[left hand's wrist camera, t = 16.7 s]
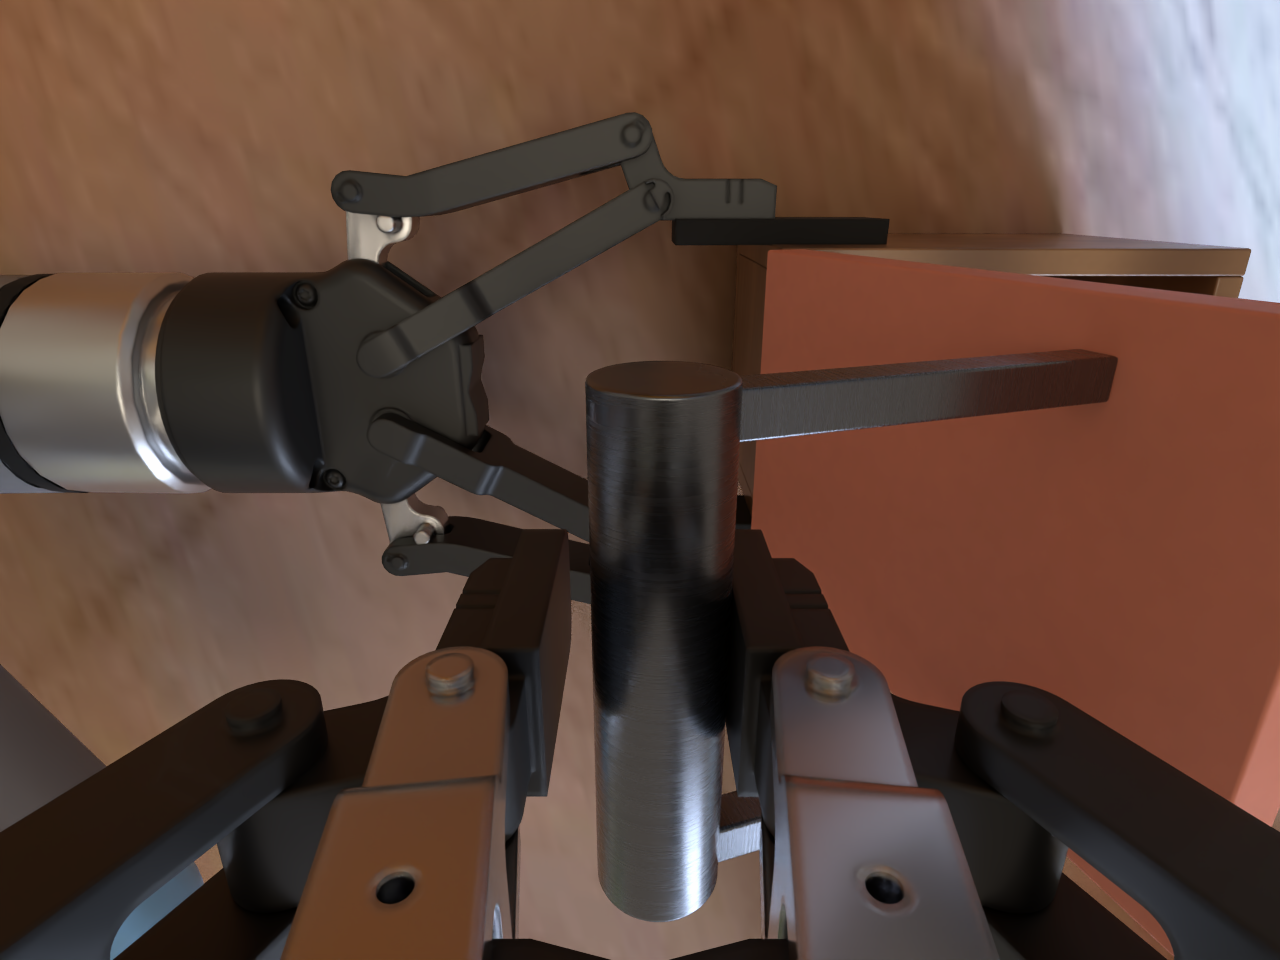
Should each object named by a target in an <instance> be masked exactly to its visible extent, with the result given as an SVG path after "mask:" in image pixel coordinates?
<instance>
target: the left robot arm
mask: <svg viewBox="0 0 1280 960" xmlns="http://www.w3.org/2000/svg"><path fill="white" fill-rule="evenodd" d="M570 644H571V590H570V564H569V541H568V532H567V529H523V530H522V532H521V535H520V538H519V540H518V543H517V546H516V549H515V552H514V554H513V557H512V558H489V559H488V560H487V561H485V562H484V563H483V564H482V565H480V566H479V567H478V568H476V569H475V570H474V571H472V572H471V573H470V575H469V578H468V580H467V582H466V584H465V587H464V589H463V594H461V595H460V598H459V600H458V602H457V604H456V609H454V611H453V613H452V615H451V617H450V620H449V622H448V624H447V626H446V628H445V631H444V633H443V635H442V637H441V639H440V642H439V644H438V646H437V648H436V650H435V651H432V652H429V653H426V654H424V655H422V656H419V657H418V658H416V659H414V660H412V661H411V662H409V663H408V664H407V665H405V666H404V667H403V668H402V669H401V670H400V671H399V672H398V674H397V675H396V677H395V679H394V681H393V683H392V687H391V690H390V694H389V696H386V697H383V698H381V699H378V700H374V701H370V702H366V703H362V704H357V705H352V706H347V707H342V708H337V709H332V710H328V711H323V707H322V701H321V697H320V694H319V693H318V691H317V690H316V689H315V688H314V687H313V686H311V685H309V684H307V683H304V682H301V681H296V680H269V681H263V682H258V683H254V684H251V685H247V686H244V687H241V688H238V689H236V690H234V691H231V692H229V693H227V694H225V695H223V696H221V697H219V698H218V699H216V700H214V701H213V702H211V703H209V704H208V705H206V706H204V707H203V708H201V709H200V710H198V711H196V712H195V713H193V714H191V715H190V716H188V717H187V718H185V719H183V720H182V721H180V722H178V723H177V724H175V725H174V726H172V727H170V728H169V729H167V730H165V731H164V732H162V733H161V734H159V735H157V736H156V737H154V738H152V739H151V740H149V741H148V742H146V743H144V744H143V745H141V746H139V747H138V748H136V749H135V750H133V751H131V752H130V753H128V754H126V755H125V756H123V757H122V758H120V759H118V760H117V761H115V762H114V763H112V764H110V765H109V766H107V767H105V768H104V769H102V770H101V771H99V772H97V773H96V774H94V775H92V776H91V777H89V778H88V779H86V780H84V781H83V782H81V783H79V784H78V785H76V786H75V787H73V788H71V789H70V790H68V791H66V792H65V793H63V794H62V795H60V796H58V797H57V798H55V799H53V800H52V801H50V802H49V803H47V804H45V805H44V806H42V807H40V808H39V809H37V810H36V811H34V812H32V813H31V814H29V815H27V816H26V817H24V818H23V819H21V820H19V821H18V822H16V823H14V824H13V825H11V826H10V827H8V828H6V829H5V830H3V831H1V832H0V960H110V952H111V947H112V944H113V941H114V938H115V936H116V934H117V932H118V930H119V929H120V927H121V926H122V924H123V922H124V921H125V920H126V919H127V917H128V916H129V915H130V914H131V913H132V912H133V911H134V910H135V908H137V907H138V906H139V905H140V904H141V903H142V902H143V901H145V900H146V899H147V898H148V897H150V896H151V895H152V894H154V893H155V892H156V891H157V890H159V889H160V888H161V887H162V886H164V885H165V884H166V883H167V882H169V881H170V880H171V879H172V878H174V877H175V876H176V875H177V874H179V873H180V872H181V871H183V870H184V869H185V868H186V867H188V866H189V865H190V864H191V863H193V862H194V861H195V860H196V859H198V858H199V857H200V856H201V855H203V854H204V853H205V852H206V851H208V850H209V849H210V848H211V847H213V846H214V845H215V844H217V846H218V850H219V853H220V857H221V861H222V864H223V869H221V870H220V871H219V872H218V873H217V874H215V875H214V876H213V877H212V878H210V879H209V880H208V881H207V882H206V883H204V884H203V885H202V886H201V887H200V888H198V889H197V890H196V891H195V892H194V893H192V894H191V895H190V896H189V897H188V898H186V899H185V900H184V901H183V902H182V903H180V904H179V905H178V906H177V907H176V908H174V909H173V910H172V911H171V912H170V913H168V914H167V915H166V916H165V917H164V918H162V919H161V920H160V921H159V922H158V923H156V924H155V925H154V926H153V927H152V928H150V929H149V930H148V931H147V932H145V933H144V934H143V935H142V936H141V937H139V938H138V939H137V940H136V941H135V942H133V943H132V944H131V945H130V946H129V947H127V948H126V949H125V950H124V951H123V952H121V953H120V954H119V955H118V956H117V957H115V958H114V959H113V960H609V959H606V958H602V957H598V956H594V955H590V954H587V953H583V952H579V951H575V950H571V949H567V948H564V947H560V946H556V945H552V944H548V943H544V942H541V941H537V940H533V939H518V934H519V893H520V851H521V840H520V827H519V825H520V823H521V820H522V816H523V812H524V807H525V801H526V796H547V794H548V787H549V781H550V774H551V768H552V761H553V755H554V749H555V742H556V736H557V729H558V723H559V717H560V710H561V704H562V697H563V691H564V684H565V678H566V672H567V665H568V659H569V652H570ZM725 722H726V728H727V734H728V741H729V747H730V753H731V759H732V765H733V771H734V777H735V783H736V789H737V796H738V797H759V801H760V806H761V811H762V814H761V827H760V840H759V851H760V892H761V934H762V939H747V940H743V941H739V942H736V943H732V944H728V945H724V946H720V947H716V948H713V949H709V950H705V951H701V952H697V953H693V954H690V955H686V956H682V957H678V958H674V959H671V960H1167V959H1166V958H1165V957H1163V956H1162V955H1161V954H1160V953H1159V952H1157V951H1156V950H1155V949H1154V948H1153V947H1151V946H1150V945H1149V944H1148V943H1147V942H1145V941H1144V940H1143V939H1142V938H1141V937H1139V936H1138V935H1137V934H1136V933H1135V932H1133V931H1132V930H1131V929H1130V928H1129V927H1127V926H1126V925H1125V924H1124V923H1123V922H1121V921H1120V920H1119V919H1118V918H1116V917H1115V916H1114V915H1113V914H1112V913H1110V912H1109V911H1108V910H1107V909H1106V908H1104V907H1103V906H1102V905H1101V904H1100V903H1098V902H1097V901H1096V900H1095V899H1094V898H1092V897H1091V896H1090V895H1089V894H1088V893H1086V892H1085V891H1084V890H1083V889H1082V888H1080V887H1079V886H1078V885H1077V884H1076V883H1074V882H1073V881H1072V880H1071V879H1070V878H1068V877H1067V876H1066V875H1065V874H1064V873H1062V870H1063V866H1064V862H1065V859H1066V855H1067V852H1068V848H1070V849H1071V850H1072V851H1074V852H1075V853H1076V854H1077V855H1079V856H1080V857H1081V858H1082V859H1084V860H1085V861H1086V862H1087V863H1089V864H1090V865H1091V866H1092V867H1094V868H1095V869H1096V870H1098V871H1099V872H1100V873H1101V874H1103V875H1104V876H1105V877H1106V878H1108V879H1109V880H1110V881H1111V882H1113V883H1114V884H1115V885H1116V886H1118V887H1119V888H1120V889H1121V890H1123V891H1124V892H1125V893H1126V894H1128V895H1129V896H1130V897H1132V898H1133V899H1134V900H1135V901H1137V902H1138V903H1139V904H1140V905H1142V906H1143V907H1144V908H1145V909H1146V910H1147V911H1148V912H1149V913H1150V914H1151V915H1152V916H1153V917H1154V918H1155V919H1156V920H1157V922H1158V923H1159V924H1160V925H1161V927H1162V928H1163V930H1164V931H1165V933H1166V935H1167V937H1168V939H1169V941H1170V943H1171V946H1172V949H1173V953H1174V960H1280V832H1279V831H1277V830H1275V829H1274V828H1272V827H1270V826H1269V825H1267V824H1266V823H1264V822H1262V821H1261V820H1259V819H1257V818H1256V817H1254V816H1253V815H1251V814H1249V813H1248V812H1246V811H1244V810H1243V809H1241V808H1240V807H1238V806H1236V805H1235V804H1233V803H1231V802H1230V801H1228V800H1227V799H1225V798H1223V797H1222V796H1220V795H1219V794H1217V793H1215V792H1214V791H1212V790H1210V789H1209V788H1207V787H1206V786H1204V785H1202V784H1201V783H1199V782H1197V781H1196V780H1194V779H1193V778H1191V777H1189V776H1188V775H1186V774H1184V773H1183V772H1181V771H1180V770H1178V769H1176V768H1175V767H1173V766H1171V765H1170V764H1168V763H1167V762H1165V761H1163V760H1162V759H1160V758H1158V757H1157V756H1155V755H1154V754H1152V753H1150V752H1149V751H1147V750H1145V749H1144V748H1142V747H1141V746H1139V745H1137V744H1136V743H1134V742H1132V741H1131V740H1129V739H1128V738H1126V737H1124V736H1123V735H1121V734H1119V733H1118V732H1116V731H1115V730H1113V729H1111V728H1110V727H1108V726H1106V725H1105V724H1103V723H1102V722H1100V721H1098V720H1097V719H1095V718H1093V717H1092V716H1090V715H1089V714H1087V713H1085V712H1084V711H1082V710H1080V709H1079V708H1077V707H1076V706H1074V705H1072V704H1071V703H1069V702H1067V701H1066V700H1064V699H1062V698H1060V697H1058V696H1057V695H1054V694H1052V693H1050V692H1048V691H1045V690H1042V689H1039V688H1037V687H1033V686H1029V685H1026V684H1021V683H1015V682H1006V681H992V682H985V683H981V684H978V685H975V686H973V687H971V688H970V689H969V690H967V691H966V692H965V694H964V695H963V697H962V702H961V707H960V711H956V710H951V709H946V708H941V707H937V706H932V705H927V704H922V703H918V702H914V701H910V700H907V699H904V698H901V697H898V696H896V695H893V694H891V693H890V690H889V687H888V683H887V681H886V679H885V677H884V675H883V674H882V672H881V671H880V670H879V669H878V668H877V667H876V666H875V665H873V664H872V663H871V662H869V661H868V660H866V659H864V658H862V657H861V656H858V655H856V654H854V653H851V652H850V651H849V649H848V647H847V644H846V642H845V640H844V638H843V636H842V634H841V632H840V629H839V627H838V625H837V623H836V621H835V619H834V616H833V614H832V612H831V610H830V609H828V604H827V601H826V599H825V597H824V595H823V594H822V593H821V588H820V586H819V584H818V582H817V580H816V578H815V576H814V573H813V572H811V571H810V570H809V569H807V568H806V567H805V566H803V565H802V564H801V563H799V562H798V561H797V560H796V559H794V558H772V557H771V554H770V552H769V549H768V546H767V543H766V541H765V538H764V535H763V533H762V530H761V529H735V543H734V562H733V581H732V601H731V620H730V639H729V659H728V678H727V697H726V716H725Z"/></svg>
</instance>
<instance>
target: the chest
mask: <svg viewBox="0 0 1280 960" xmlns="http://www.w3.org/2000/svg"><path fill="white" fill-rule="evenodd" d="M791 249H806V250H815V251H824V252H833V253H841V254H850V255H859V256H868V257H877V258H886V259H895V260H903V261H912V262H921V263H930V264H939V265H948V266H956V267H965V268H974V269H983V270H992V271H1001V272H1010V273H1018V274H1027V275H1036V276H1045V277H1054V278H1063V279H1071V280H1080V281H1089V282H1098V283H1107V284H1116V285H1124V286H1133V287H1142V288H1151V289H1160V290H1169V291H1178V292H1186V293H1195V294H1204V295H1213V296H1222V297H1231V298H1238V296H1239V292H1240V289H1241V285H1242V282H1243V277H1241V276H1243V275H1244V274H1245V271H1246V268H1247V264H1248V260H1249V257H1250V253H1251V249H1249V248H1237V247H1224V246H1212V245H1199V244H1186V243H1174V242H1161V241H1148V240H1136V239H1123V238H1110V237H1098V236H1085V235H1073V234H888V237H887V245H865V244H773V245H738V248H737V269H736V291H735V313H734V334H733V356H732V372H735V373H736V374H738V375H739V376H746V375H758V374H760V372H761V355H762V339H763V322H764V306H765V289H766V272H767V256H768V251H769V250H791ZM755 455H756V441H748V442H740V447H739V466H738V480H739V483H740V486H741V489H742V492H743V494H744V497H745V500H746V503H747V506H748V508H749V511H750V514H751V517H752V505H753V488H754V471H755Z"/></svg>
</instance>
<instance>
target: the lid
mask: <svg viewBox="0 0 1280 960" xmlns="http://www.w3.org/2000/svg"><path fill="white" fill-rule="evenodd" d="M585 388H586V427H587V466H588V505H589V544H590V583H591V622H592V661H593V700H594V739H595V778H596V817H597V856H598V877H599V881H600V884H601V886H602V889H603V891H604V892H605V894H606V896H607V897H608V898H609V900H610V901H611V902H612V903H613V904H614V905H615V906H616V907H617V908H618V909H620V910H621V911H623V912H624V913H626V914H628V915H630V916H632V917H634V918H637V919H640V920H644V921H650V922H668V921H674V920H678V919H681V918H683V917H686V916H688V915H690V914H692V913H693V912H695V911H696V910H697V909H699V908H700V907H701V906H702V905H703V904H704V903H705V902H706V901H707V899H708V898H709V897H710V895H711V893H712V891H713V890H714V887H715V884H716V880H717V870H718V862H721V861H724V860H728V859H731V858H734V857H738V856H741V855H744V854H748V853H751V852H754V851H758V850H759V840H760V827H761V814H762V811H761V806H760V801H759V797H738V796H737V791H734V792H730V793H727V794H723V795H721V793H722V774H723V755H724V736H725V716H726V697H727V678H728V659H729V639H730V620H731V601H732V581H733V562H734V543H735V524H736V504H737V485H738V466H739V447H740V442H748V441H756V455H755V471H754V488H753V505H752V521H751V529H761V530H762V533H763V535H764V538H765V541H766V543H767V546H768V549H769V552H770V554H771V557H772V558H794V559H796V560H797V561H798V562H799V563H801V564H802V565H803V566H805V567H806V568H807V569H809V570H810V571H811V572H813V573H814V576H815V578H816V580H817V582H818V584H819V586H820V588H821V593H822V594H823V595H824V597H825V599H826V601H827V604H828V609H830V610H831V612H832V614H833V616H834V619H835V621H836V623H837V625H838V627H839V629H840V632H841V634H842V636H843V638H844V640H845V642H846V644H847V647H848V649H849V651H850V652H851V653H854V654H856V655H858V656H861V657H862V658H864V659H866V660H868V661H869V662H871V663H872V664H873V665H875V666H876V667H877V668H878V669H879V670H880V671H881V672H882V674H883V675H884V677H885V679H886V681H887V683H888V687H889V690H890V691H891V692H892V693H893V694H894V695H896V696H898V697H901V698H904V699H907V700H910V701H914V702H918V703H922V704H927V705H932V706H937V707H941V708H946V709H951V710H956V711H960V707H961V702H962V697H963V695H964V694H965V692H966V691H967V690H969V689H970V688H971V687H973V686H975V685H978V684H981V683H985V682H992V681H1006V682H1015V683H1021V684H1026V685H1029V686H1033V687H1037V688H1039V689H1042V690H1045V691H1048V692H1050V693H1052V694H1054V695H1057V696H1058V697H1060V698H1062V699H1064V700H1066V701H1067V702H1069V703H1071V704H1072V705H1074V706H1076V707H1077V708H1079V709H1080V710H1082V711H1084V712H1085V713H1087V714H1089V715H1090V716H1092V717H1093V718H1095V719H1097V720H1098V721H1100V722H1102V723H1103V724H1105V725H1106V726H1108V727H1110V728H1111V729H1113V730H1115V731H1116V732H1118V733H1119V734H1121V735H1123V736H1124V737H1126V738H1128V739H1129V740H1131V741H1132V742H1134V743H1136V744H1137V745H1139V746H1141V747H1142V748H1144V749H1145V750H1147V751H1149V752H1150V753H1152V754H1154V755H1155V756H1157V757H1158V758H1160V759H1162V760H1163V761H1165V762H1167V763H1168V764H1170V765H1171V766H1173V767H1175V768H1176V769H1178V770H1180V771H1181V772H1183V773H1184V774H1186V775H1188V776H1189V777H1191V778H1193V779H1194V780H1196V781H1197V782H1199V783H1201V784H1202V785H1204V786H1206V787H1207V788H1209V789H1210V790H1212V791H1214V792H1215V793H1217V794H1219V795H1220V796H1222V797H1223V798H1225V799H1227V800H1228V801H1230V802H1231V803H1233V804H1235V805H1236V806H1238V807H1240V808H1241V809H1243V810H1244V811H1246V812H1248V813H1249V814H1251V815H1253V816H1254V817H1256V818H1257V819H1259V820H1261V821H1262V822H1264V823H1266V824H1267V825H1269V826H1270V827H1272V825H1273V822H1274V820H1275V817H1276V815H1277V812H1278V810H1279V807H1280V303H1275V302H1266V301H1257V300H1248V299H1239V298H1231V297H1222V296H1213V295H1204V294H1195V293H1186V292H1178V291H1169V290H1160V289H1151V288H1142V287H1133V286H1124V285H1116V284H1107V283H1098V282H1089V281H1080V280H1071V279H1063V278H1054V277H1045V276H1036V275H1027V274H1018V273H1010V272H1001V271H992V270H983V269H974V268H965V267H956V266H948V265H939V264H930V263H921V262H912V261H903V260H895V259H886V258H877V257H868V256H859V255H850V254H841V253H833V252H824V251H815V250H806V249H791V250H769V251H768V256H767V272H766V289H765V306H764V322H763V339H762V355H761V372H760V374H758V375H746V376H739V375H738V374H736V373H735V372H732V371H730V370H727V369H725V368H721V367H717V366H713V365H708V364H701V363H693V362H681V361H643V362H630V363H623V364H616V365H611V366H607V367H604V368H601V369H598V370H596V371H593V372H592V373H590V374H589V375H588V376H587V379H586V382H585ZM1066 856H1067V857H1068V858H1069V859H1070V860H1071V861H1072V862H1073V863H1074V864H1076V865H1077V866H1078V867H1079V868H1080V869H1081V870H1082V871H1083V872H1084V873H1085V874H1086V875H1087V876H1088V877H1089V878H1090V879H1092V880H1093V881H1094V882H1095V883H1096V884H1097V885H1098V886H1099V887H1100V888H1101V889H1102V890H1103V891H1104V892H1105V893H1106V894H1108V895H1109V896H1110V897H1111V898H1112V899H1113V900H1114V901H1115V902H1116V903H1117V904H1118V905H1119V906H1120V907H1121V908H1122V909H1123V910H1125V911H1126V912H1127V913H1128V914H1129V915H1130V916H1131V917H1132V918H1133V919H1134V920H1135V921H1136V922H1137V923H1138V924H1139V925H1141V926H1142V927H1143V928H1144V929H1145V930H1146V931H1147V932H1148V933H1149V934H1150V935H1151V936H1152V937H1153V938H1154V939H1155V940H1157V941H1158V942H1159V943H1160V944H1161V945H1162V946H1163V947H1164V948H1165V949H1166V950H1167V951H1168V952H1169V953H1170V954H1171V955H1173V956H1174V953H1173V949H1172V946H1171V943H1170V941H1169V939H1168V937H1167V935H1166V933H1165V931H1164V930H1163V928H1162V927H1161V925H1160V924H1159V923H1158V922H1157V920H1156V919H1155V918H1154V917H1153V916H1152V915H1151V914H1150V913H1149V912H1148V911H1147V910H1146V909H1145V908H1144V907H1143V906H1142V905H1140V904H1139V903H1138V902H1137V901H1135V900H1134V899H1133V898H1132V897H1130V896H1129V895H1128V894H1126V893H1125V892H1124V891H1123V890H1121V889H1120V888H1119V887H1118V886H1116V885H1115V884H1114V883H1113V882H1111V881H1110V880H1109V879H1108V878H1106V877H1105V876H1104V875H1103V874H1101V873H1100V872H1099V871H1098V870H1096V869H1095V868H1094V867H1092V866H1091V865H1090V864H1089V863H1087V862H1086V861H1085V860H1084V859H1082V858H1081V857H1080V856H1079V855H1077V854H1076V853H1075V852H1074V851H1072V850H1071V849H1070V848H1068V852H1067V855H1066Z"/></svg>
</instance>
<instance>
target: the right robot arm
mask: <svg viewBox="0 0 1280 960" xmlns="http://www.w3.org/2000/svg"><path fill="white" fill-rule="evenodd" d="M619 165H621V167H622V169H623V172H624V175H625V178H626V181H627V184H628V187H629V190H628V191H626V192H625V193H623V194H621V195H619V196H618V197H616V198H614V199H612V200H611V201H609V202H607V203H606V204H604V205H602V206H600V207H599V208H597V209H595V210H593V211H592V212H590V213H588V214H587V215H585V216H583V217H581V218H580V219H578V220H576V221H574V222H573V223H571V224H569V225H568V226H566V227H564V228H562V229H561V230H559V231H557V232H555V233H554V234H552V235H550V236H548V237H547V238H545V239H543V240H542V241H540V242H538V243H536V244H535V245H533V246H531V247H529V248H528V249H526V250H524V251H523V252H521V253H519V254H517V255H516V256H514V257H512V258H510V259H509V260H507V261H505V262H504V263H502V264H500V265H498V266H497V267H495V268H493V269H491V270H490V271H488V272H486V273H484V274H483V275H481V276H479V277H478V278H476V279H474V280H472V281H471V282H469V283H467V284H465V285H463V286H462V287H460V288H458V289H456V290H455V291H453V292H451V293H449V294H448V295H446V296H444V297H442V298H441V297H439V296H438V295H437V294H435V293H434V292H432V291H431V290H429V289H428V288H426V287H425V286H424V285H422V284H421V283H419V282H418V281H416V280H415V279H413V278H412V277H410V276H409V275H408V274H406V273H405V272H403V271H402V270H400V269H399V268H397V267H396V266H395V265H393V264H392V263H390V262H389V261H387V258H388V252H389V250H390V248H391V247H392V246H393V245H394V244H396V243H398V242H401V241H406V240H410V239H411V238H413V237H414V236H415V235H416V234H417V232H418V230H419V224H420V221H419V217H421V216H433V215H442V214H447V213H451V212H456V211H459V210H463V209H466V208H470V207H473V206H477V205H481V204H484V203H488V202H491V201H495V200H498V199H502V198H505V197H509V196H513V195H516V194H520V193H523V192H527V191H530V190H534V189H538V188H541V187H545V186H548V185H552V184H555V183H559V182H562V181H566V180H570V179H573V178H577V177H580V176H584V175H587V174H591V173H594V172H598V171H602V170H605V169H609V168H612V167H616V166H619ZM776 192H777V186H776V185H774V184H772V183H769V182H767V181H765V180H763V179H683V178H678V177H676V176H673V175H672V174H671V173H669V172H668V171H667V169H666V168H665V167H664V165H663V163H662V161H661V158H660V155H659V152H658V149H657V146H656V142H655V139H654V136H653V133H652V128H651V126H650V124H649V121H648V120H647V119H646V118H645V117H644V116H643V115H640V114H638V113H635V112H634V113H625V114H621V115H618V116H615V117H611V118H608V119H604V120H601V121H597V122H594V123H590V124H587V125H583V126H580V127H576V128H573V129H569V130H566V131H562V132H559V133H555V134H552V135H548V136H545V137H541V138H538V139H534V140H531V141H527V142H524V143H520V144H517V145H513V146H510V147H506V148H503V149H499V150H496V151H492V152H489V153H486V154H482V155H479V156H475V157H472V158H468V159H465V160H461V161H458V162H454V163H451V164H447V165H444V166H440V167H437V168H433V169H430V170H426V171H423V172H419V173H416V174H412V175H409V176H399V175H389V174H380V173H370V172H360V171H351V170H349V171H342V172H340V173H339V174H337V175H336V176H335V178H334V179H333V181H332V185H331V193H332V197H333V199H334V201H335V202H336V204H337V205H338V206H339V207H340V208H341V209H343V210H344V211H346V225H347V249H348V260H346V261H344V262H342V263H340V264H339V265H337V266H336V267H334V268H333V269H331V270H329V271H326V272H316V273H205V274H202V275H199V276H197V277H196V278H194V277H191V276H188V275H186V274H183V273H56V274H37V275H0V493H62V492H71V493H88V492H111V493H181V494H191V493H201V492H205V491H207V490H209V489H214V490H216V491H220V492H224V493H319V492H332V491H348V492H353V493H356V494H359V495H362V496H364V497H366V498H368V499H370V500H372V501H374V502H377V503H381V507H382V511H383V515H384V520H385V524H386V528H387V532H388V536H389V540H390V544H389V546H388V547H387V549H386V550H385V551H384V553H383V556H382V564H383V566H384V568H385V569H386V570H387V571H388V572H389V573H391V574H393V575H396V576H407V575H419V574H430V573H441V572H449V573H454V574H458V575H463V576H467V577H469V575H470V573H471V572H472V571H474V570H475V569H476V568H478V567H479V566H480V565H482V564H483V563H484V562H485V561H487V560H488V559H489V558H512V557H513V554H514V552H515V549H516V546H517V543H518V540H519V538H520V535H521V532H522V530H523V529H520V528H516V527H511V526H507V525H503V524H498V523H494V522H490V521H485V520H481V519H476V518H470V517H460V516H448V515H447V514H446V512H445V510H444V509H443V508H442V507H440V506H432V505H427V504H424V503H422V502H421V501H420V500H419V499H418V498H417V497H416V495H415V493H416V492H417V491H418V490H420V489H421V488H422V487H424V486H425V485H427V484H428V483H429V482H431V481H432V480H433V479H435V478H436V477H440V478H442V479H444V480H446V481H448V482H450V483H452V484H454V485H456V486H458V487H461V488H463V489H465V490H467V491H469V492H471V493H474V494H477V495H491V496H494V497H496V498H498V499H500V500H502V501H504V502H506V503H508V504H510V505H512V506H515V507H517V508H519V509H521V510H523V511H525V512H527V513H529V514H531V515H533V516H535V517H538V518H540V519H542V520H544V521H546V522H548V523H550V524H552V525H554V526H556V527H559V528H561V529H567V532H569V533H571V534H573V535H575V536H577V537H579V538H582V539H584V540H586V541H588V542H589V505H588V480H586V479H584V478H582V477H580V476H578V475H575V474H573V473H571V472H569V471H567V470H565V469H563V468H561V467H559V466H557V465H555V464H553V463H551V462H549V461H547V460H545V459H543V458H541V457H539V456H537V455H535V454H533V453H531V452H529V451H527V450H525V449H523V448H521V447H519V446H517V445H515V444H514V443H513V442H512V441H511V439H510V438H509V437H507V436H506V435H504V434H503V433H501V432H499V431H497V430H495V429H493V428H491V427H489V426H486V423H487V422H488V421H489V410H488V399H487V396H486V393H485V390H484V388H483V385H482V382H481V371H482V366H483V361H484V344H483V335H478V332H477V330H476V328H475V325H476V324H478V323H480V322H482V321H483V320H485V319H486V318H488V317H490V316H491V315H493V314H495V313H497V312H498V311H500V310H502V309H504V308H505V307H507V306H509V305H511V304H512V303H514V302H516V301H518V300H519V299H521V298H523V297H525V296H527V295H528V294H530V293H532V292H534V291H535V290H537V289H539V288H541V287H542V286H544V285H546V284H548V283H550V282H551V281H553V280H555V279H557V278H558V277H560V276H562V275H564V274H565V273H567V272H569V271H571V270H572V269H574V268H576V267H578V266H580V265H581V264H583V263H585V262H587V261H588V260H590V259H592V258H594V257H595V256H597V255H599V254H601V253H602V252H604V251H606V250H608V249H610V248H611V247H613V246H615V245H617V244H618V243H620V242H622V241H624V240H625V239H627V238H629V237H631V236H633V235H634V234H636V233H638V232H640V231H641V230H643V229H645V228H647V227H648V226H650V225H652V224H654V223H655V222H657V221H659V220H672V242H673V243H674V244H675V245H773V244H865V245H887V237H888V228H889V219H880V218H866V217H775V208H776ZM751 521H752V517H751V514H750V511H749V508H748V506H747V503H746V500H745V497H744V495H737V504H736V524H735V529H751ZM568 541H569V564H570V590H571V600H575V601H579V602H584V603H588V604H591V583H590V545H589V544H585V543H581V542H576V541H572V540H568ZM105 767H106V766H105V765H104V764H103V763H102V762H101V761H100V760H99V759H98V758H97V757H96V756H95V755H94V754H93V753H92V752H91V751H90V750H89V749H88V748H87V747H86V746H85V745H84V744H83V743H82V742H80V741H79V740H78V739H77V738H76V737H75V736H74V735H73V734H72V733H71V732H70V731H69V730H68V729H67V728H66V727H65V726H64V725H63V724H62V723H61V722H60V721H59V720H58V719H57V718H56V717H54V716H53V715H52V714H51V713H50V712H49V711H48V710H47V709H46V708H45V707H44V706H43V705H42V704H41V703H40V702H39V701H38V700H37V699H36V698H35V697H34V696H33V695H32V694H31V693H30V692H28V691H27V690H26V689H25V688H24V687H23V686H22V685H21V684H20V683H19V682H18V681H17V680H16V679H15V678H14V677H13V676H12V675H11V674H10V673H9V672H8V671H7V670H6V669H5V668H4V667H2V666H1V665H0V832H1V831H3V830H5V829H6V828H8V827H10V826H11V825H13V824H14V823H16V822H18V821H19V820H21V819H23V818H24V817H26V816H27V815H29V814H31V813H32V812H34V811H36V810H37V809H39V808H40V807H42V806H44V805H45V804H47V803H49V802H50V801H52V800H53V799H55V798H57V797H58V796H60V795H62V794H63V793H65V792H66V791H68V790H70V789H71V788H73V787H75V786H76V785H78V784H79V783H81V782H83V781H84V780H86V779H88V778H89V777H91V776H92V775H94V774H96V773H97V772H99V771H101V770H102V769H104V768H105ZM203 884H204V883H203V879H202V876H201V874H200V872H199V870H198V867H197V866H196V864H195V863H194V862H193V863H191V864H190V865H189V866H188V867H186V868H185V869H184V870H183V871H181V872H180V873H179V874H177V875H176V876H175V877H174V878H172V879H171V880H170V881H169V882H167V883H166V884H165V885H164V886H162V887H161V888H160V889H159V890H157V891H156V892H155V893H154V894H152V895H151V896H150V897H148V898H147V899H146V900H145V901H143V902H142V903H141V904H140V905H139V906H138V907H137V908H135V910H134V911H133V912H132V913H131V914H130V915H129V916H128V917H127V919H126V920H125V921H124V922H123V924H122V926H121V927H120V929H119V930H118V932H117V934H116V936H115V938H114V941H113V944H112V947H111V952H110V960H113V959H114V958H115V957H117V956H118V955H119V954H120V953H121V952H123V951H124V950H125V949H126V948H127V947H129V946H130V945H131V944H132V943H133V942H135V941H136V940H137V939H138V938H139V937H141V936H142V935H143V934H144V933H145V932H147V931H148V930H149V929H150V928H152V927H153V926H154V925H155V924H156V923H158V922H159V921H160V920H161V919H162V918H164V917H165V916H166V915H167V914H168V913H170V912H171V911H172V910H173V909H174V908H176V907H177V906H178V905H179V904H180V903H182V902H183V901H184V900H185V899H186V898H188V897H189V896H190V895H191V894H192V893H194V892H195V891H196V890H197V889H198V888H200V887H201V886H202V885H203Z"/></svg>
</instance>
